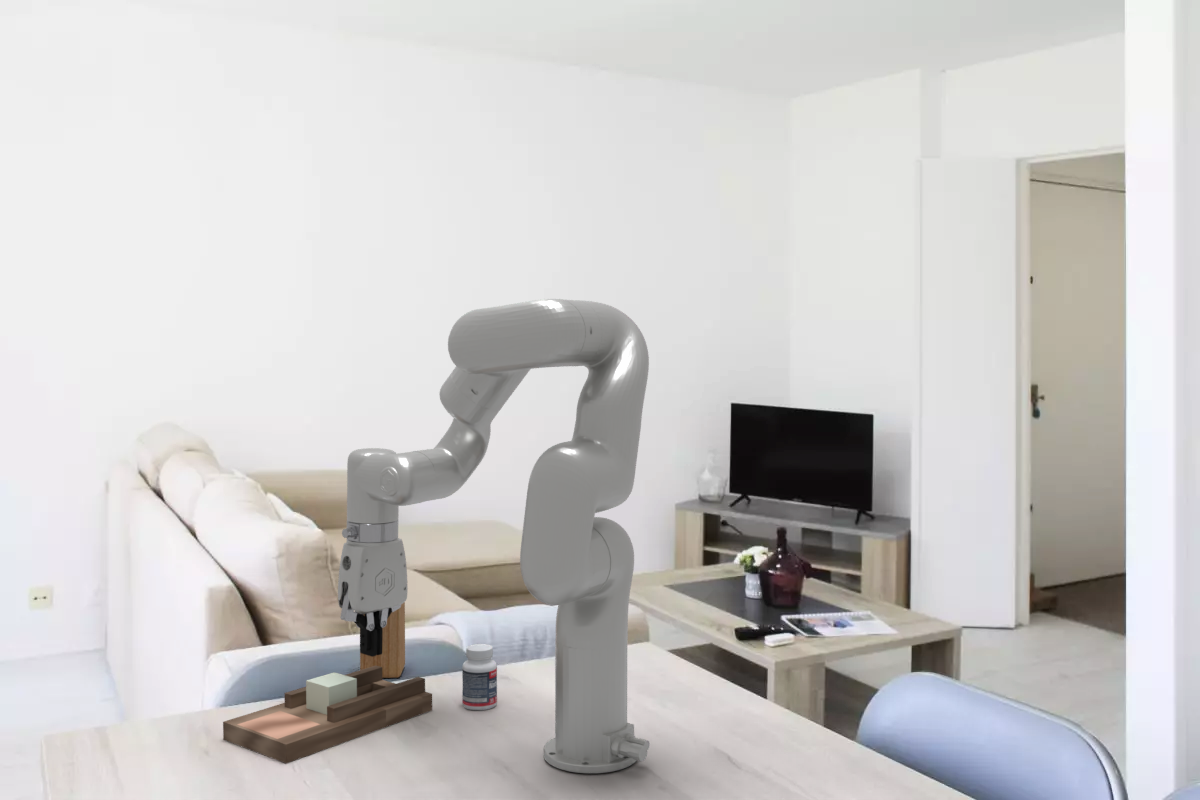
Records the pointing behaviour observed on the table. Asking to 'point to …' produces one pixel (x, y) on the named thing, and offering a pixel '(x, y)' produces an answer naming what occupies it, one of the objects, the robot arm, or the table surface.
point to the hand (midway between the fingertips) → (371, 653)
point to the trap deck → (328, 717)
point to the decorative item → (390, 647)
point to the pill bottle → (479, 678)
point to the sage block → (329, 691)
